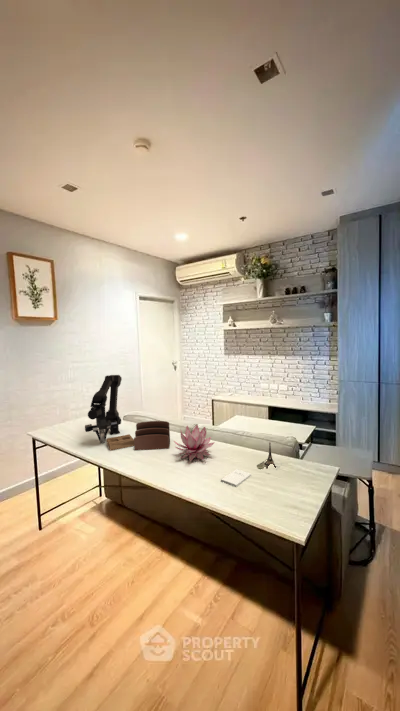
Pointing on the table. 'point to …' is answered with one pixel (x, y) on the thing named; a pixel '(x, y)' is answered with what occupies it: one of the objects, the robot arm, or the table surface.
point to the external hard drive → (236, 477)
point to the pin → (102, 436)
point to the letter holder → (152, 435)
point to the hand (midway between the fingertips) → (102, 439)
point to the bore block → (120, 442)
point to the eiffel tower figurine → (268, 462)
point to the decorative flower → (195, 443)
